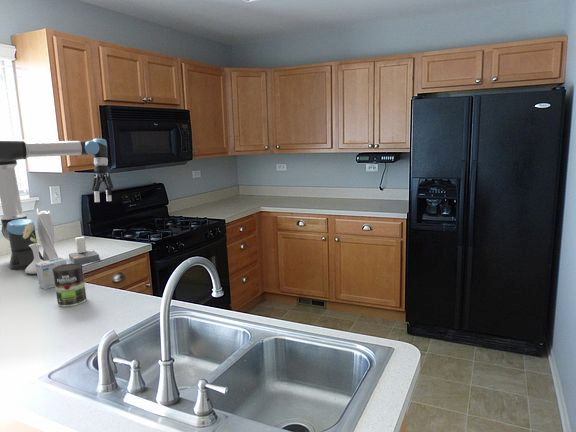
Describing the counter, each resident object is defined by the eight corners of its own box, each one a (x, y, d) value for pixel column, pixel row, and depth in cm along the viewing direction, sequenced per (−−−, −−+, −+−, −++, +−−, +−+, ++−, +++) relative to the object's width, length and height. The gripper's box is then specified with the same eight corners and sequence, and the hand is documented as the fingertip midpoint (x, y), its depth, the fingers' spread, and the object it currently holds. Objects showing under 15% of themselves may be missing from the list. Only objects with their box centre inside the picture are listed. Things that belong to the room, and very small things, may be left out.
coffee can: (84, 304, 163) (79, 269, 161) (54, 308, 161) (49, 272, 158) (89, 295, 173) (84, 261, 170) (61, 299, 170) (55, 265, 168)
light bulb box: (63, 279, 195) (60, 256, 193) (70, 282, 191) (66, 259, 189) (38, 286, 187) (34, 263, 185) (44, 289, 183) (40, 265, 181)
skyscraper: (38, 261, 227) (30, 209, 222) (50, 257, 234) (42, 207, 229) (50, 262, 225) (42, 209, 220) (61, 258, 232) (54, 207, 227)
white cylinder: (78, 253, 227) (76, 239, 225) (76, 251, 230) (74, 237, 229) (86, 251, 229) (84, 237, 228) (84, 250, 232) (82, 236, 231)
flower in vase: (26, 271, 211) (17, 221, 206) (52, 267, 216) (45, 218, 211) (24, 278, 199) (15, 226, 195) (52, 273, 204) (43, 222, 200)
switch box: (74, 264, 218) (73, 259, 217) (69, 259, 229) (68, 253, 228) (99, 260, 225) (98, 254, 224) (93, 254, 236) (92, 249, 235)
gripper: (118, 163, 247) (120, 200, 248) (96, 167, 263) (98, 202, 263) (105, 163, 241) (107, 200, 242) (84, 167, 257) (86, 202, 258)
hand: (103, 201), depth 253 cm, fingers open, 13 cm apart
